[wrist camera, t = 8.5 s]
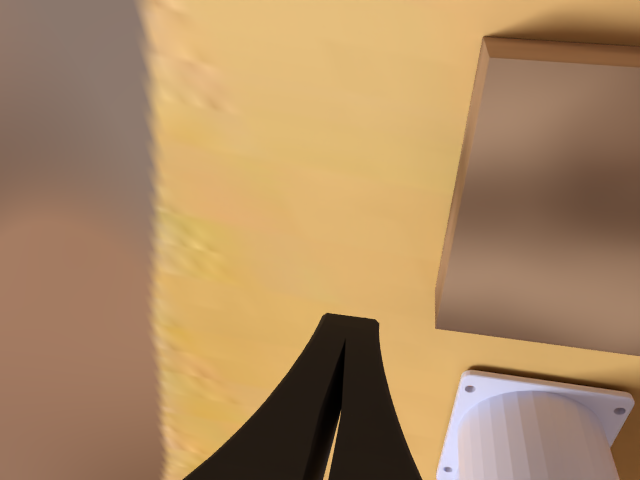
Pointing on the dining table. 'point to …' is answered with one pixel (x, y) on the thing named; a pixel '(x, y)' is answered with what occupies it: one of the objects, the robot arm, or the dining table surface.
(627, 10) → the dining table surface
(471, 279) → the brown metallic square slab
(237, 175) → the dining table surface
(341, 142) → the dining table surface
